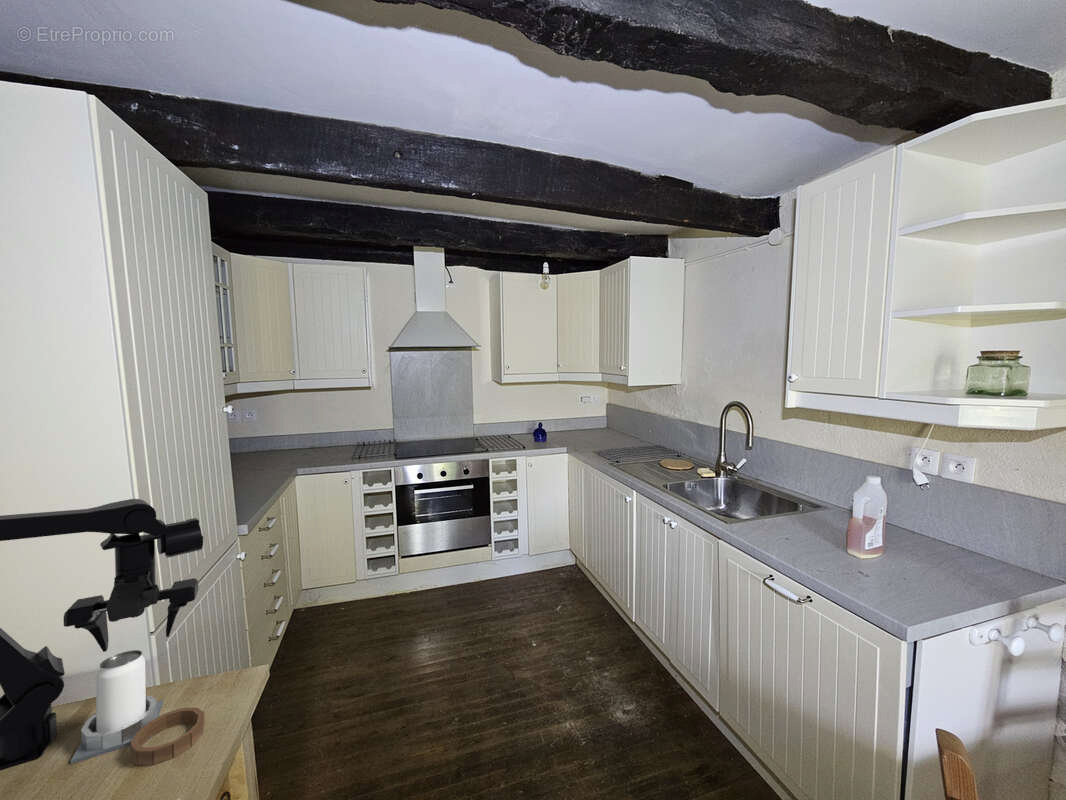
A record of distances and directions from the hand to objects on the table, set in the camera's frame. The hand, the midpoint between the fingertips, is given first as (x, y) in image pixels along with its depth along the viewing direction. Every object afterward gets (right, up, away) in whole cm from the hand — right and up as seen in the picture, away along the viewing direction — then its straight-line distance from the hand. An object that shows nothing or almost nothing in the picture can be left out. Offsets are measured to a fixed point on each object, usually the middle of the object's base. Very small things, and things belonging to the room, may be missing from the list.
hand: (137, 643), depth 84 cm
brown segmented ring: (+14, -12, -9) cm, 20 cm away
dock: (+3, -12, -7) cm, 14 cm away
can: (+3, -12, -6) cm, 14 cm away
